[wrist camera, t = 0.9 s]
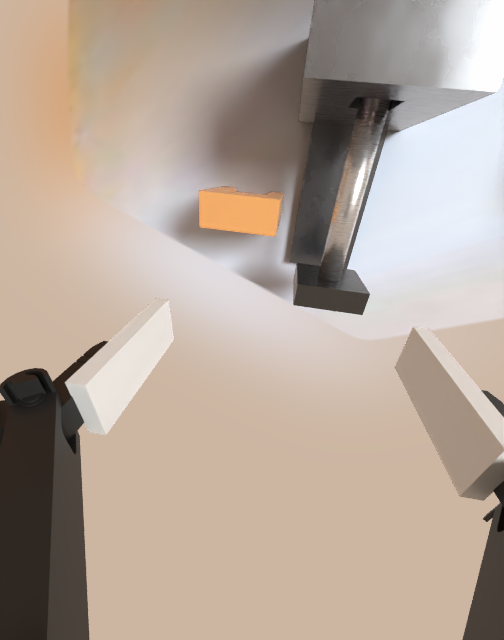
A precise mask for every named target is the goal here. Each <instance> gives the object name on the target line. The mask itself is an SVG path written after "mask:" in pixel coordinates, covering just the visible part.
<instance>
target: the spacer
mask: <svg viewBox="0 0 504 640" xmlns="http://www.w3.org/2000/svg"><path fill="white" fill-rule="evenodd" d="M283 194H284V193H280V192H269V193H268V194H267V195H263V194H254V193H245V192H236V188H234V187H225V186H223V187H217V188H211V189H206V190H200V191H199V227H201V228H209V229H217V230H226V231H234V232H242V233H250V234H258V235H266V236H274V237H275V236H276V232H277V229H278V225H279V222H280V215H281V208H282V201H283Z"/></svg>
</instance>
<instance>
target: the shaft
mask: <svg viewBox="0 0 504 640" xmlns="http://www.w3.org/2000/svg"><path fill="white" fill-rule="evenodd" d="M390 102H391V100H386V99H374V98H361V97H360V101H359V105H358V109H357V114H356V118H355V122H354V126H353V130H352V135H351V139H350V143H349V147H348V151H347V156H346V160H345V164H344V168H343V173H342V177H341V181H340V185H339V189H338V194H337V198H336V202H335V206H334V210H333V215H332V219H331V223H330V227H329V232H328V236H327V240H326V244H325V248H324V253H323V257H322V261H321V265H320V266H318V265H310V264H302V263H297V264H296V269H295V274H294V280H293V305H297V306H304V307H311V308H318V309H324V310H331V311H338V312H345V313H352V314H359V315H363V312H364V309H365V306H366V304H367V301H368V298H369V295H370V293H369V292H368V290H367V289H366V287H365V286H364V284H363V283H362V281H361V279H360V278H359V276H358V275H357V273H356V272H355V270H348V269H343V266H344V263H345V259H346V256H347V252H348V249H349V245H350V242H351V238H352V235H353V231H354V228H355V224H356V221H357V217H358V214H359V210H360V207H361V203H362V200H363V196H364V193H365V189H366V186H367V182H368V179H369V175H370V172H371V168H372V165H373V161H374V158H375V154H376V151H377V147H378V144H379V140H380V137H381V133H382V130H383V126H384V123H385V119H386V116H387V112H388V109H389V105H390Z"/></svg>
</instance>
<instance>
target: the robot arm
mask: <svg viewBox="0 0 504 640" xmlns="http://www.w3.org/2000/svg"><path fill="white" fill-rule="evenodd" d="M173 340H174V334H173V327H172V320H171V313H170V306H169V300H168V299H159V298H155V299H154V300H153V301H152V302H151V303H150V304H149V305H148V306H147V307H146V308H145V309H143V310H142V311H141V312H140V313H139V314H138V315H137V316H136V317H135V318H134V319H133V320H131V321H130V322H129V323H128V324H127V325H126V326H125V327H124V328H123V329H122V330H121V331H120V332H119V333H117V334H116V335H115V336H114V337H113V338H112V339H111V340H110V341H109V342H107V341H103V342H101V343H99V344H97V345H95V346H93V347H92V348H90V349H89V350H88V351H87V352H86V353H85V354H84V356H81V357H80V358H79V359H78V360H77V362H74V363H73V364H72V365H71V366H70V367H69V368H68V369H67V370H65V371H64V372H63V373H62V374H61V375H60V376H59V377H57V378H56V379H55V380H54V381H53V382H52V380H51V378H50V376H49V374H48V372H47V371H46V370H44V369H38V368H34V369H28V370H24V371H21V372H19V373H16V374H14V375H12V376H10V377H9V378H7V379H6V380H5V381H4V382H2V383H1V385H0V393H1V395H2V396H3V397H4V399H5V400H3V401H0V640H89V626H88V625H89V624H88V602H87V582H86V561H85V540H84V519H83V498H82V478H81V456H80V436H79V433H78V431H77V430H78V429H79V428H80V427H81V426H82V424H83V423H84V424H85V426H86V428H87V430H88V432H91V433H97V434H103V435H106V434H107V433H108V432H109V430H110V429H111V427H112V426H113V425H114V423H115V422H116V420H117V419H118V417H119V416H120V415H121V413H122V412H123V411H124V409H125V408H126V406H127V405H128V403H129V402H130V401H131V399H132V398H133V397H134V395H135V393H136V392H137V391H138V389H139V388H140V387H141V385H142V384H143V382H144V381H145V380H146V378H147V377H148V375H149V374H150V373H151V371H152V370H153V368H154V367H155V366H156V364H157V362H158V361H159V360H160V358H161V357H162V355H163V354H164V353H165V351H166V350H167V349H168V347H169V346H170V344H171V343H172V341H173ZM395 369H396V371H397V373H398V375H399V377H400V379H401V381H402V382H403V385H404V386H405V388H406V391H407V393H408V395H409V397H410V398H411V401H412V403H413V405H414V407H415V409H416V411H417V412H418V414H419V416H420V418H421V420H422V422H423V424H424V426H425V428H426V430H427V432H428V434H429V436H430V438H431V440H432V442H433V444H434V446H435V448H436V450H437V452H438V454H439V456H440V458H441V460H442V462H443V464H444V466H445V468H446V470H447V472H448V474H449V476H450V478H451V480H452V482H453V484H454V486H455V488H456V490H457V492H458V494H459V496H460V497H466V498H472V499H478V500H485V499H486V498H487V497H488V496H489V495H490V494H491V493H492V492H495V494H496V496H497V497H498V499H499V501H500V502H501V503H500V504H499V505H498V506H496V507H495V508H494V509H493V510H491V511H490V512H489V513H488V514H487V515H486V516H485V517H484V518H483V519H484V520H485V521H486V522H488V521H489V520H490V519H491V518H493V520H492V523H491V527H490V532H489V536H488V540H487V544H486V548H485V552H484V556H483V560H482V564H481V568H480V572H479V576H478V580H477V584H476V588H475V592H474V596H473V600H472V604H471V608H470V612H469V616H468V621H467V625H466V628H465V632H464V636H463V640H504V404H503V403H502V402H501V401H500V400H498V399H497V398H496V397H494V396H493V395H492V394H490V393H489V392H488V391H483V390H480V389H479V387H478V386H477V385H476V384H475V383H474V382H473V380H472V379H471V378H470V377H469V376H468V374H467V373H466V372H465V371H464V370H463V368H462V367H461V366H460V365H459V364H458V362H457V361H456V360H455V359H454V358H453V356H452V355H451V354H450V353H449V352H448V350H447V349H446V348H445V347H444V346H443V344H442V343H441V342H440V341H439V340H438V339H437V337H436V336H435V335H434V334H433V333H432V331H431V330H430V329H429V328H420V327H413V329H412V331H411V333H410V335H409V337H408V340H407V342H406V344H405V346H404V349H403V351H402V353H401V355H400V357H399V359H398V362H397V364H396V366H395Z"/></svg>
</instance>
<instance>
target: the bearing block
mask: <svg viewBox="0 0 504 640" xmlns="http://www.w3.org/2000/svg"><path fill="white" fill-rule="evenodd" d="M503 77H504V0H314V7H313V13H312V20H311V27H310V34H309V41H308V48H307V55H306V62H305V69H304V76H303V85H302V94H301V103H300V112H299V122H308V123H313V129H312V134H311V140H310V146H309V152H308V158H307V164H306V169H305V175H304V181H303V187H302V193H301V199H300V204H299V210H298V216H297V222H296V228H295V234H294V240H293V245H292V251H291V257H290V262H295V263H303V264H310V265H318V266H320V265H321V261H322V257H323V253H324V248H325V244H326V240H327V236H328V232H329V227H330V223H331V219H332V215H333V210H334V206H335V202H336V198H337V194H338V189H339V185H340V181H341V177H342V173H343V168H344V164H345V160H346V156H347V151H348V147H349V143H350V139H351V135H352V130H353V126H354V122H355V118H356V114H357V109H358V105H359V101H360V97H361V98H374V99H386V100H391V102H390V105H389V109H388V112H387V116H386V119H385V123H384V126H383V130H382V133H381V137H380V140H379V144H378V147H377V151H376V154H375V158H374V161H373V165H372V168H371V172H370V175H369V179H368V182H367V186H366V189H365V193H364V196H363V200H362V203H361V207H360V210H359V214H358V217H357V221H356V224H355V228H354V231H353V235H352V238H351V242H350V245H349V249H348V252H347V256H346V259H345V263H344V266H343V269H347V266H348V263H349V259H350V256H351V253H352V249H353V246H354V242H355V239H356V236H357V232H358V229H359V225H360V222H361V219H362V215H363V212H364V209H365V205H366V202H367V198H368V195H369V192H370V188H371V185H372V181H373V178H374V175H375V171H376V168H377V164H378V161H379V158H380V154H381V151H382V147H383V144H384V141H385V137H386V134H387V131H388V130H397V131H402V130H404V129H407V128H409V127H411V126H414V125H416V124H419V123H421V122H424V121H426V120H429V119H431V118H434V117H436V116H439V115H441V114H444V113H446V112H449V111H451V110H454V109H456V108H459V107H461V106H464V105H466V104H469V103H471V102H474V101H476V100H479V99H481V98H483V97H486V96H488V95H491V94H493V93H496V92H497V91H498V88H499V86H500V84H501V82H502V79H503Z"/></svg>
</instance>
